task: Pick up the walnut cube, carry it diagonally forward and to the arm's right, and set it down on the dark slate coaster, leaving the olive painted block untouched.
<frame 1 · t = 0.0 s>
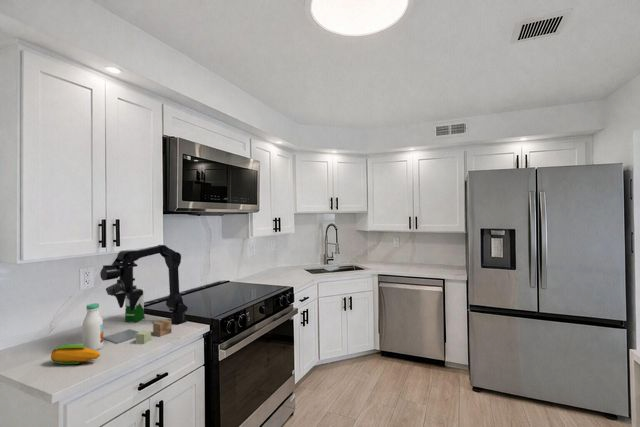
hand: (126, 309, 155), 15 cm above the countertop, fingers open, 9 cm apart
corn: (77, 363, 131), on the countertop
slate coaster: (123, 336, 159), on the countertop
milk bottle: (92, 349, 144), on the countertop
walnut cube: (162, 333, 163), on the countertop
olive block: (143, 342, 152), on the countertop
milk carton: (135, 320, 184), on the countertop
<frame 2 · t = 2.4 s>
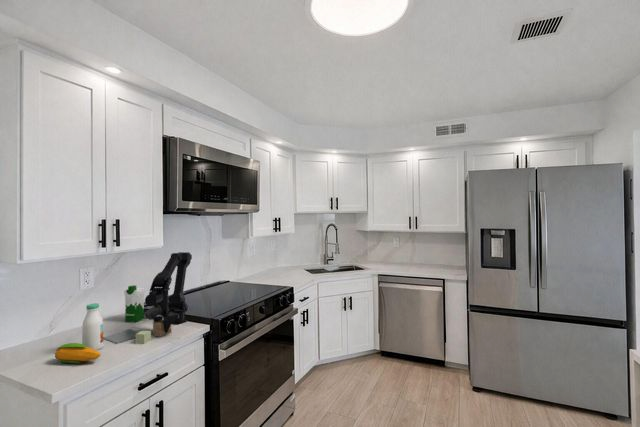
hand: (162, 331, 163), 1 cm above the countertop, fingers closed on walnut cube, 6 cm apart
walnut cube: (162, 333, 163), on the countertop, touching gripper
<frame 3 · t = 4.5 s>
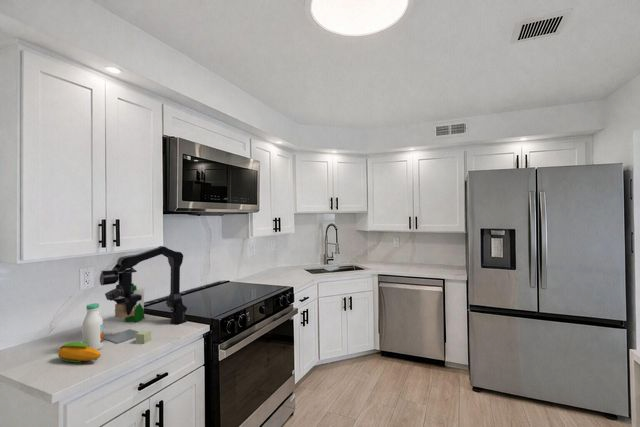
hand: (124, 313, 159), 11 cm above the countertop, fingers closed on walnut cube, 6 cm apart
walnut cube: (124, 315, 159), point 10 cm above the countertop, touching gripper
when the fingers open (3 cm above the countertop, at t = 6.5 s): walnut cube drops 1 cm, resting on slate coaster.
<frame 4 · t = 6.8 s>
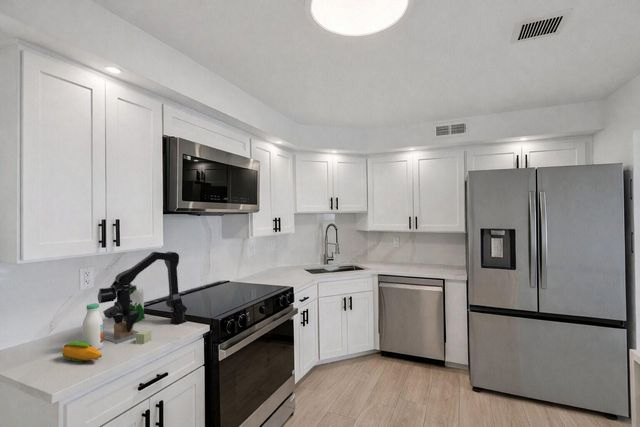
hand: (123, 330, 159), 3 cm above the countertop, fingers open, 9 cm apart
walnut cube: (123, 335, 159), point 1 cm above the countertop, touching slate coaster
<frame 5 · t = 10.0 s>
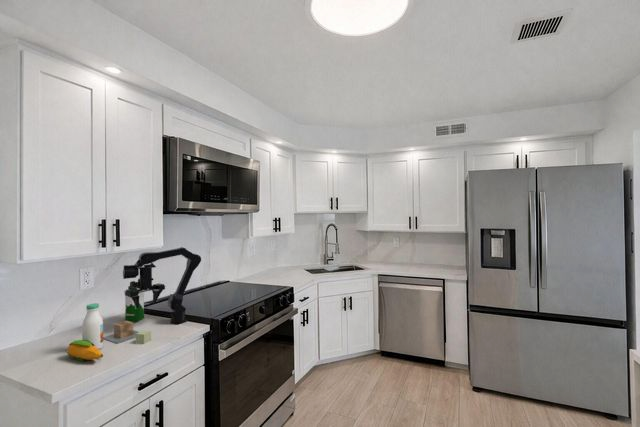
hand: (145, 306, 170), 12 cm above the countertop, fingers open, 9 cm apart
at the end: walnut cube inside the target area on the slate coaster (0.0 cm from its centre), point 0.6 cm above the slate coaster's base; walnut cube tilted 0°; olive block moved 0.1 cm from its start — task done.
